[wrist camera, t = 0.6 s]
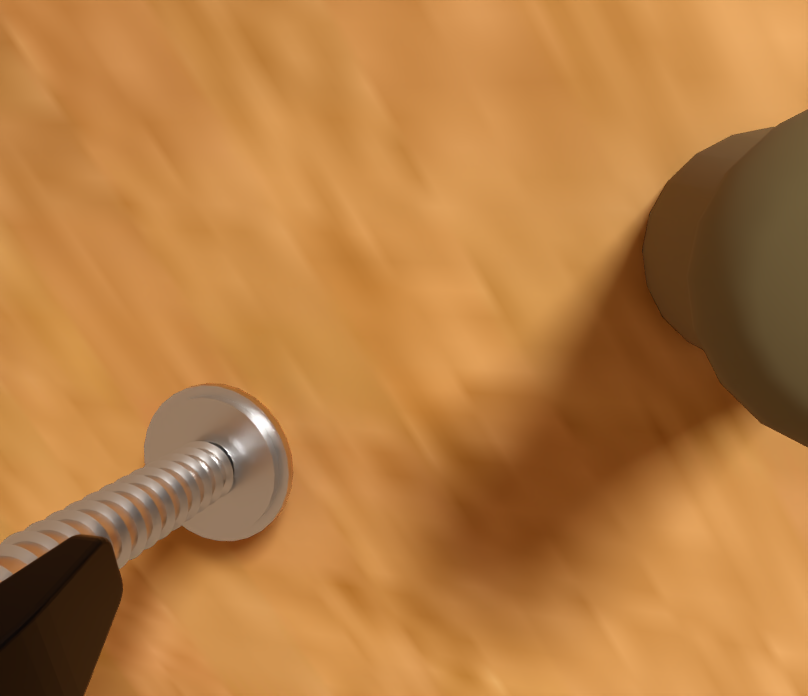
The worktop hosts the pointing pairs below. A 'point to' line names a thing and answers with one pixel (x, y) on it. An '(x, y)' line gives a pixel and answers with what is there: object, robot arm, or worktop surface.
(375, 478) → the worktop surface
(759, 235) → the cork
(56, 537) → the screw
